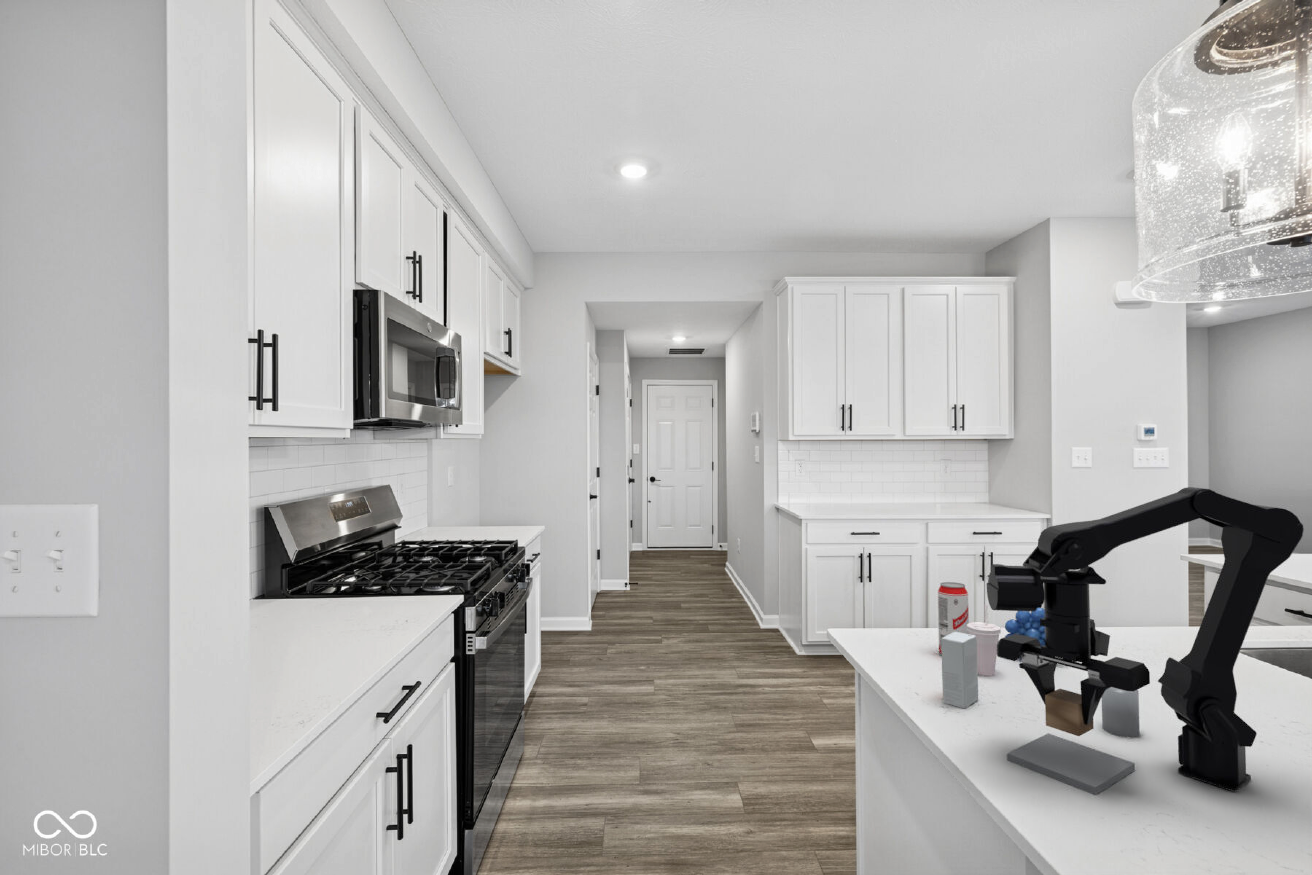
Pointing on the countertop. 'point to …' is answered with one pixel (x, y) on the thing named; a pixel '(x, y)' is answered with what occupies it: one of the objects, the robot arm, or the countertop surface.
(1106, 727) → the grey cylinder
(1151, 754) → the countertop surface
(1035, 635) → the grapes
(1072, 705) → the walnut block
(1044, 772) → the slate pad
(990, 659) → the smoothie
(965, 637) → the skincare box
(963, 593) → the beer can
